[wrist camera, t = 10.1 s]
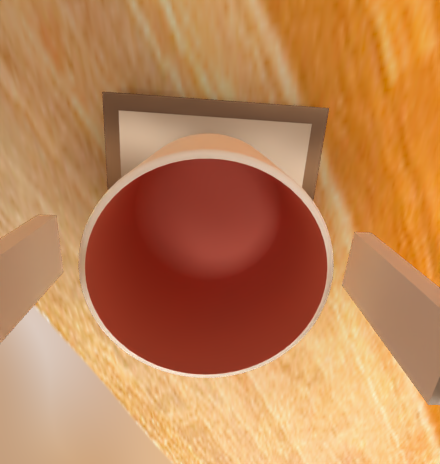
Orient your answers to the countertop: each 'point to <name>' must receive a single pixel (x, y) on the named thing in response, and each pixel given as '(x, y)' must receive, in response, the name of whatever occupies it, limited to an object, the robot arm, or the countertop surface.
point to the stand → (212, 131)
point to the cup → (206, 259)
